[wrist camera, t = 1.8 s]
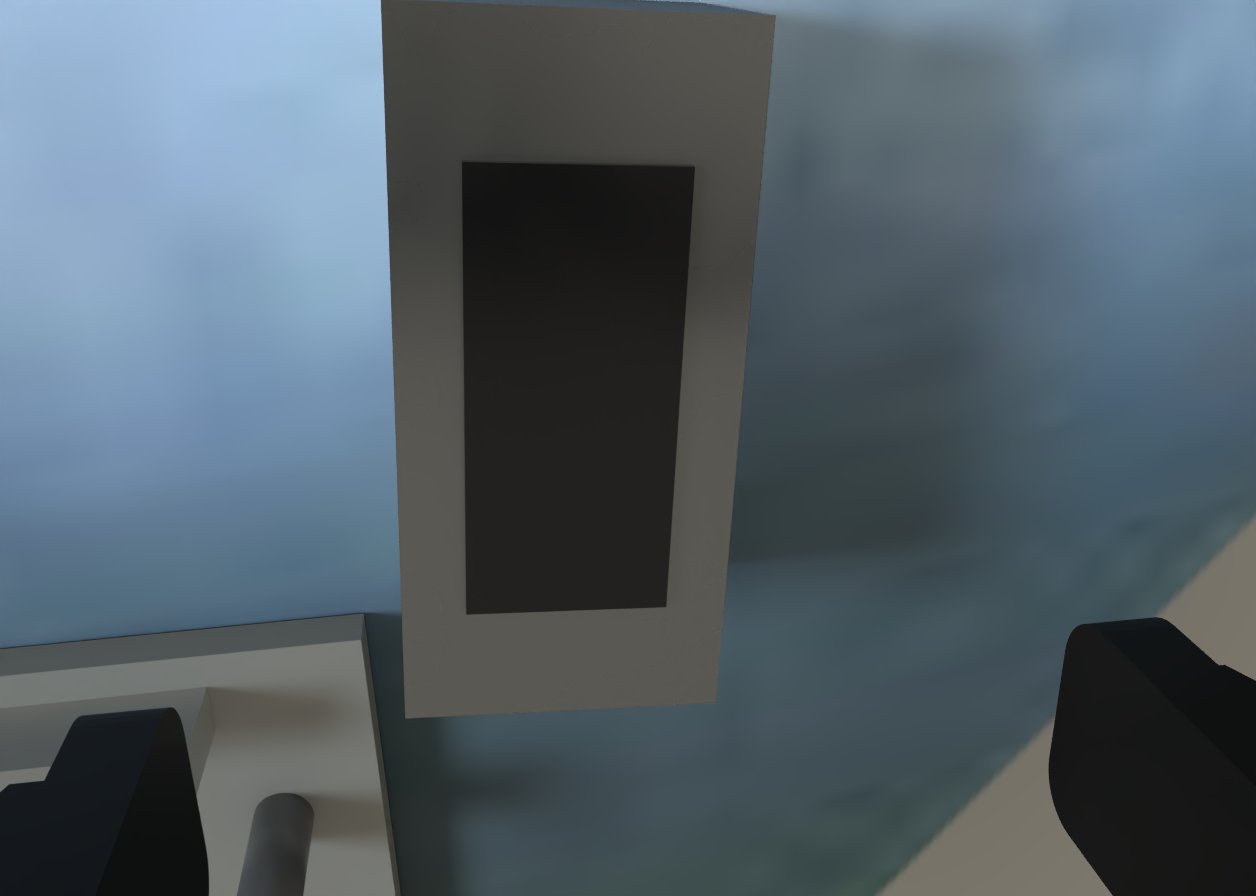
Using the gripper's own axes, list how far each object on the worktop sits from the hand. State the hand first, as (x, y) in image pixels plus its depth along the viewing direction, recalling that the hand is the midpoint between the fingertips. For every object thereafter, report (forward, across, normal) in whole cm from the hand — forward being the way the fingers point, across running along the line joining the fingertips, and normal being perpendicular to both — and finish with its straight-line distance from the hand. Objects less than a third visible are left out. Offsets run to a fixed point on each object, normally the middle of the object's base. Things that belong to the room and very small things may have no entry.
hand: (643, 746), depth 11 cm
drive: (+13, 0, -1) cm, 13 cm away
